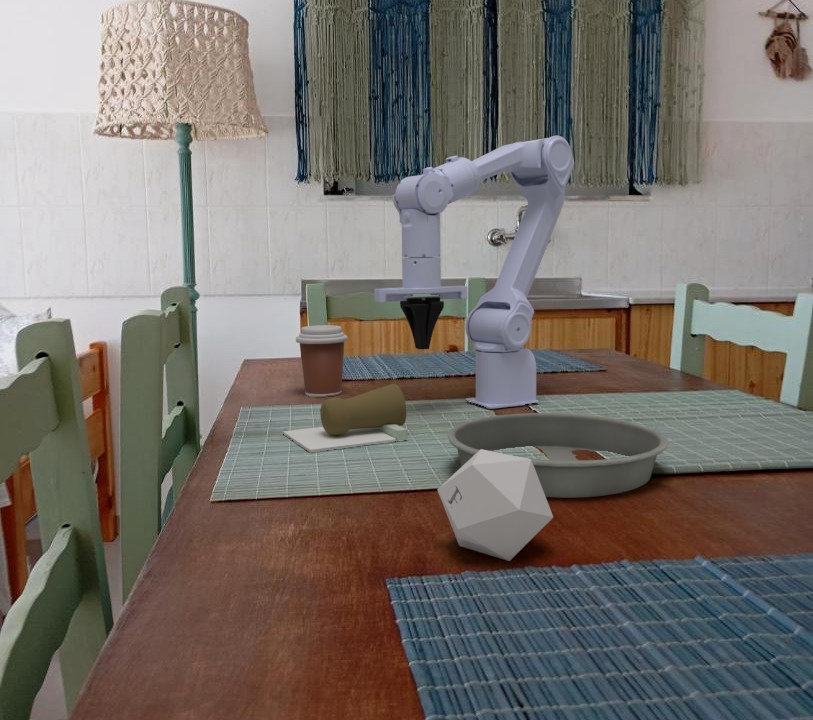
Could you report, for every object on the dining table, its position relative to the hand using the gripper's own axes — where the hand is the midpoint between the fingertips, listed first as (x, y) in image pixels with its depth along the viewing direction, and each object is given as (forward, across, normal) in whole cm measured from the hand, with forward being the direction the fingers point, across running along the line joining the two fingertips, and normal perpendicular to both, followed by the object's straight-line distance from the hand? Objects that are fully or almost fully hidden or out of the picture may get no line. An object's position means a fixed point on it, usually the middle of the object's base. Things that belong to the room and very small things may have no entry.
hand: (422, 348), depth 123 cm
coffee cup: (+11, +7, -26) cm, 29 cm away
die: (+11, +19, +52) cm, 56 cm away
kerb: (+10, +9, +7) cm, 16 cm away
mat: (+10, +16, +7) cm, 21 cm away
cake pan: (+11, 0, +34) cm, 36 cm away
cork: (+7, +7, +7) cm, 12 cm away
